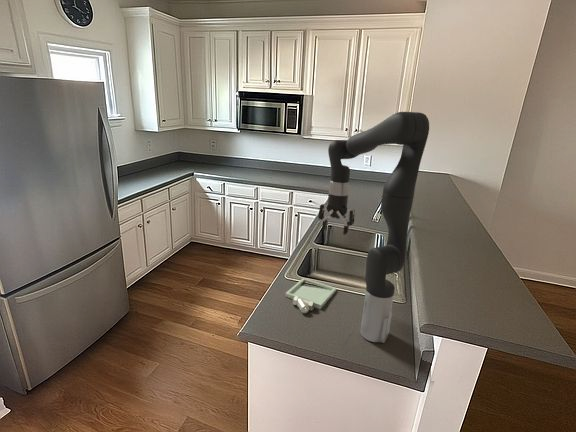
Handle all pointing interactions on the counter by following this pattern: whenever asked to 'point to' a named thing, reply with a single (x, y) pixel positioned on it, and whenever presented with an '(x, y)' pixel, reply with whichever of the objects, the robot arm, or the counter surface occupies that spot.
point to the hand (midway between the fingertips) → (334, 231)
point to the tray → (311, 292)
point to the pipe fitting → (303, 304)
